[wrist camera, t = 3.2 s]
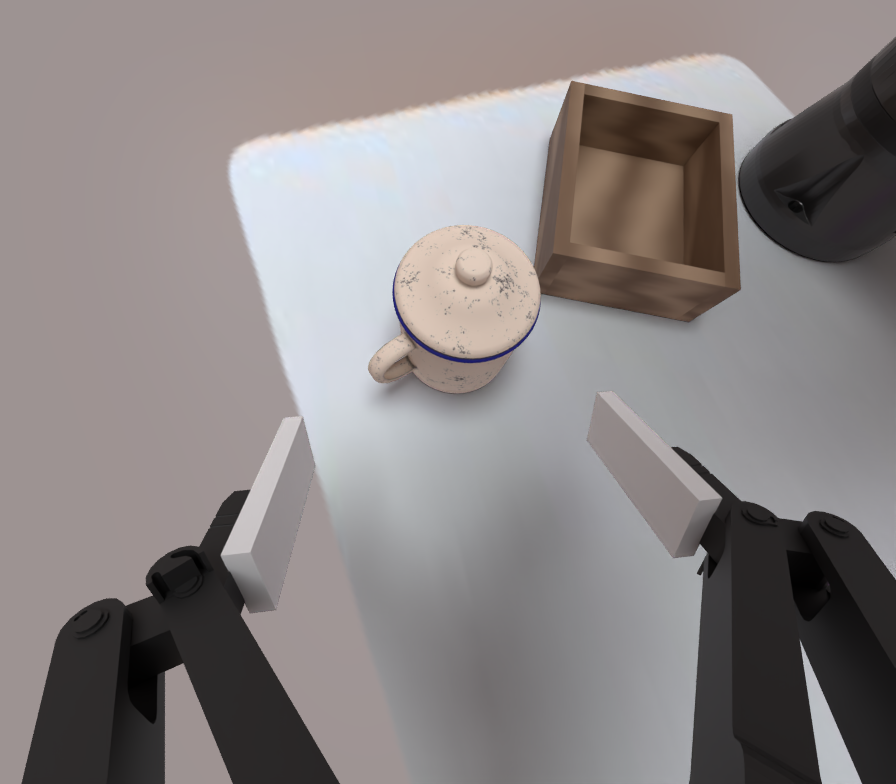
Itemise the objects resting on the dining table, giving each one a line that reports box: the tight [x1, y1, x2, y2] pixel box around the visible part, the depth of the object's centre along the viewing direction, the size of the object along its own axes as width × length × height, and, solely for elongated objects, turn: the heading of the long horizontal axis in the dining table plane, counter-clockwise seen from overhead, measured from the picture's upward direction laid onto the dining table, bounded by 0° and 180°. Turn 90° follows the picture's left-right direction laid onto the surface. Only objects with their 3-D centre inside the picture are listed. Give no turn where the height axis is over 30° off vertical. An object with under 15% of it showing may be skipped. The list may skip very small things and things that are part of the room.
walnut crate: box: [534, 81, 741, 322], centre depth 32 cm, size 14×17×6 cm
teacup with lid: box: [368, 225, 541, 393], centre depth 25 cm, size 12×9×12 cm
